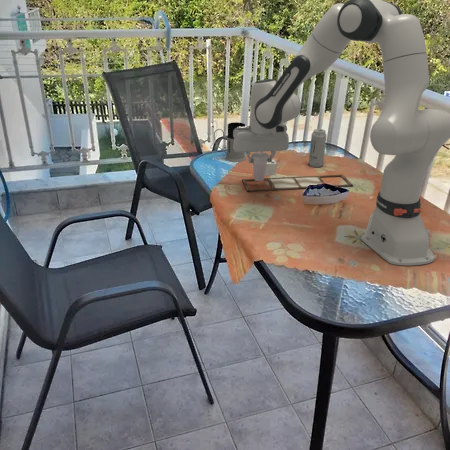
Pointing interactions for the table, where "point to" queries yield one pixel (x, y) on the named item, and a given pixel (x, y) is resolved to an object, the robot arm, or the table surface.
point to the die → (271, 168)
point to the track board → (294, 182)
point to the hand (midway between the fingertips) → (260, 162)
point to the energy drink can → (317, 148)
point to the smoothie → (259, 165)
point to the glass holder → (231, 153)
